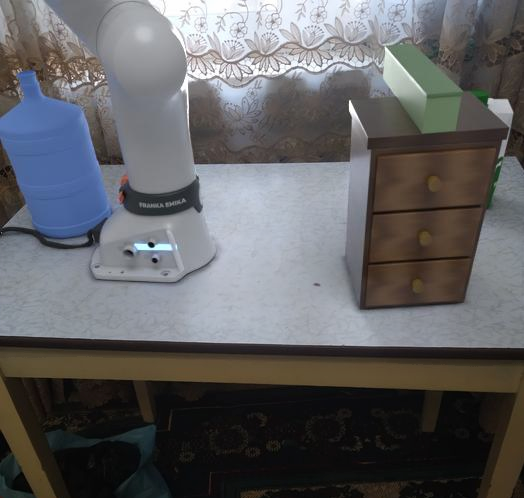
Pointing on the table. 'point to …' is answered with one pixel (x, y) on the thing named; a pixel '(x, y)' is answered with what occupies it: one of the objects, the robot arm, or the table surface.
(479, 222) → the drawer unit
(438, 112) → the storage box
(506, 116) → the milk carton
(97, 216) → the water jug
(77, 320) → the table surface
